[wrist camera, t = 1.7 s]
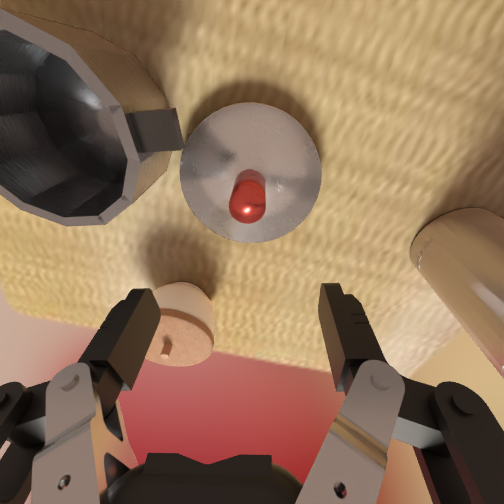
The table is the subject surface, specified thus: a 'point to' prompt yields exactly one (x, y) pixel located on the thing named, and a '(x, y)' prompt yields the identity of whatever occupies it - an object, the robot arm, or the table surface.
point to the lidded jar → (182, 326)
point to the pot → (77, 123)
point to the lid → (250, 172)
